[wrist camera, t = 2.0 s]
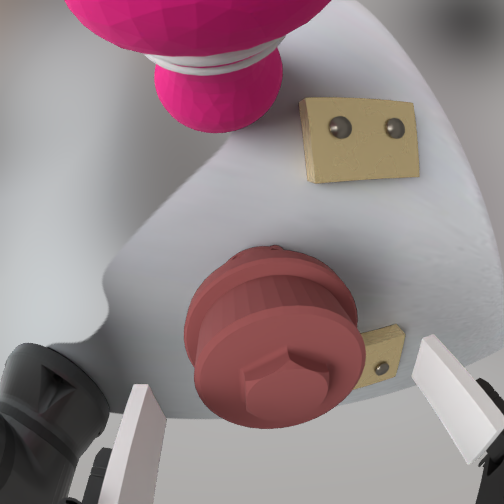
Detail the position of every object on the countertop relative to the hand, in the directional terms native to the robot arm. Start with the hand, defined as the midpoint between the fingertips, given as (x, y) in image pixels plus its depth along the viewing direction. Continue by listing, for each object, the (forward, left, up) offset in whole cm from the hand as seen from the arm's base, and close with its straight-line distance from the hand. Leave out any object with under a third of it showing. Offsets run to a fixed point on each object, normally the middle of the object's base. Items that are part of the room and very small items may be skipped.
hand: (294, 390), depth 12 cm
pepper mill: (-1, +15, -12) cm, 19 cm away
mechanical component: (0, 0, -12) cm, 12 cm away
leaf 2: (+9, +11, -12) cm, 18 cm away
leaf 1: (+9, -10, -12) cm, 18 cm away
